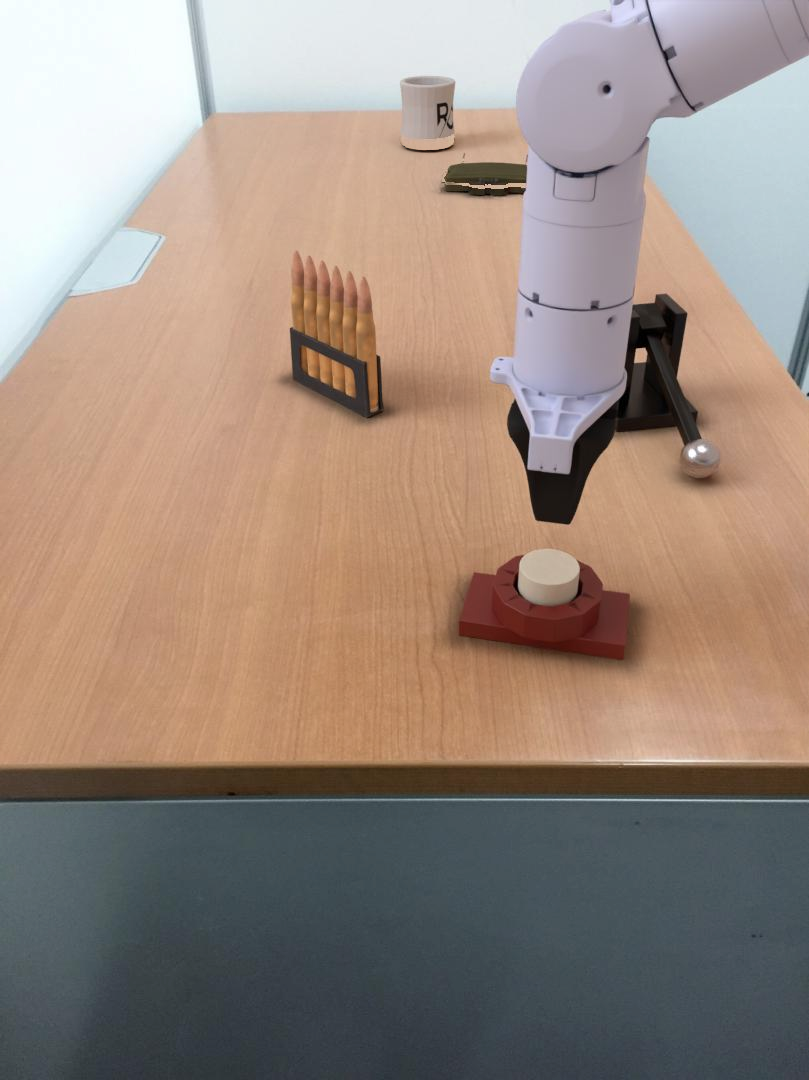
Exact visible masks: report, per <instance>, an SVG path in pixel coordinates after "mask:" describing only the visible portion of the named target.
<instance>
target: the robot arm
mask: <svg viewBox="0 0 809 1080" xmlns="http://www.w3.org/2000/svg"><path fill="white" fill-rule="evenodd" d="M609 3H610V10H606V9H599V10H595V11H593V12H588V13H586V14H584V15H582V16H580V17H578V18H577V19H574V20H571V21H568V22H565V23H563V24H562V25H561V26H559V27H558V29H557V30H556V31H555V32H554V33H553V34H552V35H550V36H548V38H547V39H545V40H544V41H543V42H542V43H541V44H540V45H539V46H538V47H537V48H536V50H535V51H534V52H533V53H532V55H531V57H530V58H529V60H528V61H527V63H525V66H524V68H523V70H522V71H521V72H522V73H521V75H520V78H519V81H518V84H517V89H516V96H515V110H516V112H515V113H516V118H517V124H518V126H519V129H520V132H521V134H522V136H523V138H524V140H525V143H526V144H527V145H528V149H527V155H528V158H527V180H526V191H525V192H524V193H523V196H522V209H521V226H520V227H521V228H520V244H519V261H518V277H517V279H518V280H517V296H516V297H517V298H516V313H515V328H514V343H513V344H514V345H513V346H514V347H513V356H498V357H497V356H496V357H495V358H494V359H493V361H492V364H491V366H490V369H489V380H490V382H492V383H493V384H497V385H505V386H507V387H509V388H510V390H511V392H512V395H513V397H514V400H513V402H512V403H511V404H510V408H509V411H508V414H507V419H506V427H507V432H508V435H509V438H510V439H511V441H512V442H513V444H514V445H515V447H516V449H517V451H518V453H519V456H520V457H521V460H522V463H523V467H524V470H525V473H526V479H527V485H528V491H529V499H530V504H531V509H532V513H533V517H534V520H535V521H536V522H544V523H551V524H557V525H558V524H559V525H567V526H569V525H571V523H572V521H573V520H574V519H575V518H574V517H575V515H576V513H577V510H578V508H579V506H580V502H581V499H582V495H583V492H584V489H585V486H586V484H587V483H586V482H587V480H588V478H589V475H590V473H591V471H592V470H593V467H594V466H595V464H596V462H597V461H598V459H599V458H600V456H601V455H602V454H603V453H604V452H605V451H606V449H607V448H608V447H609V446H610V444H611V443H612V441H613V438H614V436H615V433H616V430H615V426H616V420H615V418H616V417H617V412H618V405H619V398H620V397H621V396H622V395H623V393H624V391H625V388H626V381H627V372H626V370H625V368H624V366H625V359H626V351H627V344H628V336H629V329H630V321H631V314H632V306H633V305H634V298H635V288H636V282H637V275H638V266H639V258H640V252H641V251H640V250H641V244H642V243H641V242H642V235H643V230H644V229H643V227H644V221H645V220H644V219H645V213H646V207H647V196H646V192H645V179H646V171H647V165H648V155H649V149H650V142H651V138H650V137H649V136H648V134H649V133H650V131H651V129H652V126H653V124H654V123H655V122H656V121H657V120H660V119H664V118H676V119H677V118H680V119H686V118H689V117H691V116H693V115H695V114H696V113H697V114H698V112H700V111H702V110H704V109H706V108H708V107H710V106H712V105H715V104H716V103H717V102H720V101H722V100H724V99H726V98H728V97H730V96H732V95H734V94H735V93H739V92H740V91H742V90H743V89H746V88H748V87H749V86H751V85H753V84H755V83H757V82H759V81H761V80H763V79H764V78H767V77H770V76H771V75H772V74H774V73H776V72H779V71H780V70H783V69H785V68H786V67H789V66H790V65H793V64H794V63H797V62H799V61H801V60H803V59H804V58H806V57H808V56H809V0H609Z"/></svg>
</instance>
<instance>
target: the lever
mask: <svg viewBox="0 0 809 1080" xmlns="http://www.w3.org/2000/svg"><path fill="white" fill-rule="evenodd" d="M632 309H633V310H634V311H635V312H636V313H637V314H638V315H639V316H640V324H639V331H638V339H637V346H636V350H637V349H645V351H646V355H647V354H648V356H649V359H650V361H651V364H652V366H653V369H654V371H655V374H656V376H657V379H658V381H659V384H660V386H661V389H662V391H663V394H664V396H665V399H666V401H667V404H668V406H669V409H670V411H671V413H672V416H673V418H674V421H675V423H676V426H675V427H676V428H677V431H678V433H679V436H680V438H681V441H682V443H683V447H682V448H681V451H680V453H679V457H678V458H679V465H680V468H681V469H682V471H683V473H685V474H686V475H687V476H688V477H691V478H694V479H705V478H708V477H711V476H712V475H714V474H715V473H716V472H717V470H718V469H719V467H720V464H721V460H722V458H721V457H722V456H721V452H720V449H719V448H718V447H717V445H716V444H715V443H714V442H712V441H711V440H709V439H706V438H702V435H701V433H700V431H699V428H698V426H697V422H696V423H695V421H694V418H693V416H692V414H691V411H690V409H689V406H688V404H687V402H686V399H687V398H686V396H685V395H684V392H683V389H682V388H681V385H680V383H679V382H680V381H679V380H678V377H677V378H676V375H675V373H674V370H673V368H672V366H671V363H670V361H669V358H668V356H667V354H666V351H665V349H664V346H663V344H662V342H661V340H662V337H663V335H664V332H665V330H666V327H667V326H666V323H665V321H664V319H663V316H662V314H661V312H660V309H659V307H658V305H657V303H655V302H647V303H636V304H634V303H633V306H632ZM684 396H685V397H684ZM685 398H686V399H685Z"/></svg>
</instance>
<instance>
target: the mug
mask: <svg viewBox="0 0 809 1080" xmlns="http://www.w3.org/2000/svg"><path fill="white" fill-rule="evenodd" d="M399 85H400V96H401V126H400V136H401V135H403V136H405V137H407V138H413V139H437V138H445V137H448V136H451V135H452V134H454V132H455V124H454V123H455V122H454V98H455V90H456V79H454V78H452V77H447V76H440V75H418V76H417V75H416V76H409V77H405V78H403V79H401V80H400V81H399Z"/></svg>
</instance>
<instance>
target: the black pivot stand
mask: <svg viewBox="0 0 809 1080" xmlns="http://www.w3.org/2000/svg"><path fill="white" fill-rule="evenodd" d="M654 297H655V298H654V303H657V305H658V307H659V309H660V312H661V314H662V316H663V319H664V321H665V323H666V326H667V327H666V330H665V332H664V335H663V337H662V340H661V342H662V344H663V346H664V349H665V351H666V354H667V356H668V358H669V361H670V363H671V366H672V368H673V370H674V373H675V375H676V378H677V379H678V374H679V369H680V367H679V366H680V362H681V356H682V355H681V354H682V350H683V349H682V348H683V344H684V338H685V332H686V331H685V330H686V327H687V326H686V325H687V318H688V312H687V311H686V310H685V309H684V308H683V307H682V306H681V305H679V303H678V302H676V301H675V300H674V299H673V298H672V297H671V296H670V295H669V294H667V293H658V294H657V293H656V294H655V296H654ZM639 324H640V316H639V315H638V314H637V313H636V312H635V311H634V310H633V309H632V314H631V321H630V329H629V336H628V344H627V351H626V359H625V366H624V368H625V370H626V372H627V381H626V388H625V391H624V393H623V395H622V396H621V397H620V398H619V405H618V412H617V417H616V418H615V420H616V426H615V432H617V433H618V432H628V431H639V430H647V429H649V430H650V429H659V428H668V427H669V428H670V427H677V426H676V423H675V421H674V418H673V416H672V413H671V411H670V409H669V406H668V404H667V401H666V399H665V396H664V394H663V391H662V389H661V386H660V384H659V381H658V379H657V376H656V374H655V371H654V369H653V366H652V364H651V361H650V359H649V356H648V354H647V353H646V360H645V361H643V362H636V361H635V359H636V353H637V349H636V346H637V339H638V331H639ZM684 397H685V399H686V402H687V404H688V406H689V409H690V411H691V414H692V416H693V418H694V421H695V423H696V424H697V421H698V420H697V419H698V415H699V411H698V410H697V408H696V407H695V406H694V405H693V404H692V403H691V402H690V400H688V399H687V397H686V396H685V395H684Z"/></svg>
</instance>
